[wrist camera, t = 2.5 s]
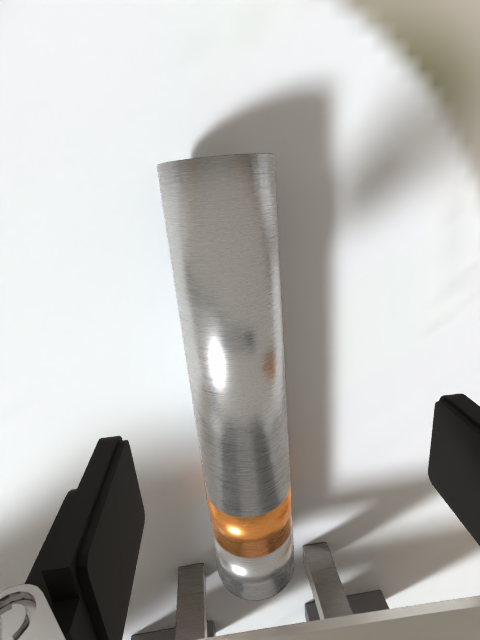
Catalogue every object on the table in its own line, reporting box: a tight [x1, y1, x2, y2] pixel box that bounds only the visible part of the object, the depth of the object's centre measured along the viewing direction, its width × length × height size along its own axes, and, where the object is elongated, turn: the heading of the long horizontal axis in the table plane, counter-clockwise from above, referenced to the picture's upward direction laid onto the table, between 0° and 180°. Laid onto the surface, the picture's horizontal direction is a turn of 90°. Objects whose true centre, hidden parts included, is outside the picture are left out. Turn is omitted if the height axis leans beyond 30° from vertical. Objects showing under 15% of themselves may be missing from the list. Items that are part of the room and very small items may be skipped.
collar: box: [175, 542, 353, 640], centre depth 23 cm, size 2×11×10 cm, turn 95°
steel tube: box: [157, 154, 294, 600], centre depth 20 cm, size 24×5×5 cm, turn 5°
